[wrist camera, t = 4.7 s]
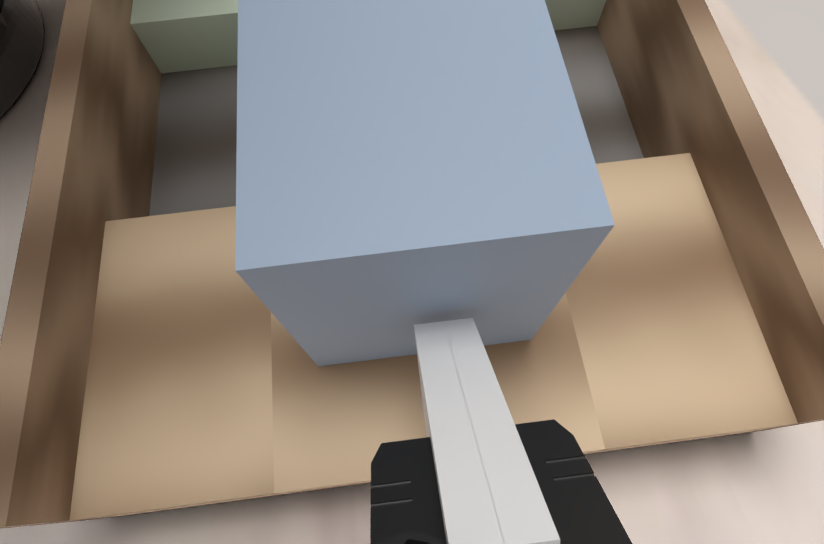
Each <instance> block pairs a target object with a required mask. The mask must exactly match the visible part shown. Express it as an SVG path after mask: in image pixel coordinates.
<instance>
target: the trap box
mask: <svg viewBox="0 0 824 544" xmlns="http://www.w3.org/2000/svg"><path fill="white" fill-rule="evenodd" d="M132 5H133V0H66V3H65V8H64V13H63V19H62V24H61V29H60V34H59V40H58V45H57V50H56V55H55V61H54V66H53V71H52V76H51V82H50V87H49V92H48V97H47V102H46V108H45V113H44V118H43V123H42V129H41V134H40V139H39V144H38V150H37V155H36V160H35V165H34V171H33V176H32V181H31V186H30V192H29V197H28V202H27V207H26V213H25V218H24V223H23V228H22V234H21V239H20V244H19V249H18V255H17V260H16V265H15V270H14V275H13V281H12V286H11V291H10V296H9V302H8V307H7V312H6V317H5V323H4V328H3V333H2V338H1V344H0V528H10V527H20V526H31V525H41V524H51V523H62V522H72V521H82V520H93V519H103V518H113V517H120V516H128V515H135V514H143V513H150V512H158V511H165V510H173V509H180V508H188V507H195V506H203V505H210V504H218V503H225V502H233V501H240V500H248V499H255V498H263V497H270V496H278V495H285V494H293V493H300V492H308V491H315V490H323V489H330V488H338V487H345V486H353V485H360V484H368V483H371V462H372V460H373V458H374V456H375V454H376V452H377V450H378V448H379V446H380V445H381V443H387V442H394V441H402V440H410V439H418V438H425V437H427V433H426V426H425V419H424V412H423V403H422V394H421V385H420V376H419V367H418V358H417V354H414V355H406V356H399V357H391V358H383V359H375V360H367V361H359V362H351V363H343V364H335V365H327V366H319V367H318V366H317V365H316V363H315V362H314V361H313V360H312V359H311V358H310V356H309V355H308V354H307V353H306V352H305V351H304V350H303V348H302V347H301V346H300V345H299V344H298V343H297V341H296V340H295V339H294V338H293V337H292V336H291V335H290V333H289V332H288V331H287V330H286V329H285V328H284V326H283V325H282V324H281V323H280V322H279V321H278V319H277V318H276V317H275V316H274V315H273V314H272V313H271V311H270V310H269V309H268V308H267V307H266V306H265V304H264V303H263V302H262V301H261V300H260V299H259V298H258V296H257V295H256V294H255V293H254V292H253V291H252V289H251V288H250V287H249V286H248V285H247V284H246V283H245V281H244V280H243V279H242V278H241V277H240V276H239V274H238V273H237V272H236V271H235V246H236V151H237V65H233V66H224V67H215V68H206V69H197V70H188V71H178V72H169V73H161V72H160V70H159V69H158V67H157V66H156V64H155V63H154V61H153V59H152V58H151V56H150V55H149V53H148V51H147V50H146V48H145V47H144V45H143V44H142V42H141V40H140V39H139V37H138V36H137V34H136V32H135V31H134V29H133V28H132V26H131V25H130V21H131V13H132ZM554 32H555V35H556V38H557V41H558V44H559V48H560V51H561V54H562V57H563V60H564V64H565V67H566V70H567V73H568V76H569V80H570V83H571V86H572V89H573V92H574V96H575V99H576V102H577V105H578V108H579V112H580V115H581V118H582V121H583V124H584V128H585V131H586V134H587V137H588V140H589V144H590V147H591V150H592V153H593V156H594V160H595V163H596V166H597V169H598V173H599V176H600V179H601V182H602V185H603V189H604V192H605V195H606V198H607V201H608V205H609V208H610V211H611V214H612V217H613V221H614V224H615V225H614V227H613V228H612V230H611V231H610V232H609V234H608V235H607V236H606V238H605V239H604V241H603V242H602V243H601V245H600V246H599V247H598V249H597V250H596V251H595V253H594V254H593V256H592V257H591V258H590V260H589V261H588V262H587V264H586V265H585V267H584V268H583V269H582V271H581V272H580V273H579V275H578V276H577V278H576V279H575V280H574V282H573V283H572V284H571V286H570V287H569V289H568V290H567V291H566V293H565V294H564V295H563V297H562V298H561V300H560V301H559V302H558V304H557V305H556V306H555V308H554V309H553V311H552V312H551V313H550V315H549V316H548V317H547V319H546V320H545V322H544V323H543V324H542V326H541V327H540V328H539V330H538V331H537V333H536V334H535V335H534V337H533V338H532V339H531V340H525V341H517V342H509V343H501V344H493V345H485V346H484V347H485V350H486V353H487V355H488V358H489V360H490V363H491V365H492V368H493V370H494V373H495V375H496V378H497V380H498V383H499V385H500V388H501V391H502V393H503V396H504V398H505V401H506V403H507V406H508V408H509V411H510V413H511V416H512V418H513V421H514V424H521V423H529V422H537V421H545V420H552V419H554V420H556V421H557V422H558V423H559V424H561V425H562V426H563V427H564V428H565V429H567V430H568V431H569V432H570V433H572V434H573V435H574V437H575V439H576V441H577V443H578V444H579V446H580V448H581V450H582V452H583V454H584V455H585V454H592V453H600V452H607V451H615V450H622V449H630V448H637V447H645V446H652V445H660V444H667V443H675V442H682V441H690V440H697V439H705V438H712V437H720V436H727V435H735V434H742V433H750V432H756V431H762V430H768V429H774V428H780V427H786V426H792V425H798V424H804V423H810V422H816V421H822V420H824V249H823V247H822V245H821V242H820V240H819V238H818V236H817V234H816V232H815V230H814V228H813V226H812V224H811V222H810V220H809V217H808V215H807V213H806V211H805V209H804V207H803V205H802V203H801V201H800V199H799V197H798V194H797V192H796V190H795V188H794V186H793V184H792V182H791V180H790V178H789V176H788V174H787V172H786V169H785V167H784V165H783V163H782V161H781V159H780V157H779V155H778V153H777V151H776V149H775V146H774V144H773V142H772V140H771V138H770V136H769V134H768V132H767V130H766V128H765V126H764V124H763V121H762V119H761V117H760V115H759V113H758V111H757V109H756V107H755V105H754V103H753V101H752V98H751V96H750V94H749V92H748V90H747V88H746V86H745V84H744V82H743V80H742V78H741V76H740V73H739V71H738V69H737V67H736V65H735V63H734V61H733V59H732V57H731V55H730V53H729V51H728V48H727V46H726V44H725V42H724V40H723V38H722V36H721V34H720V32H719V30H718V28H717V25H716V23H715V21H714V19H713V17H712V15H711V13H710V11H709V9H708V7H707V5H706V3H705V0H606V3H605V5H604V8H603V11H602V13H601V16H600V19H599V21H598V24H597V26H590V27H581V28H572V29H563V30H554Z"/></svg>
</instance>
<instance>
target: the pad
mask: <svg viewBox="0 0 824 544" xmlns="http://www.w3.org/2000/svg"><path fill="white" fill-rule="evenodd" d="M545 3H546V6H547V9H548V12H549V15H550V19H551V22H552V25H553V28H554V30H563V29H572V28H581V27H590V26H597V24H598V21H599V19H600V16H601V13H602V11H603V8H604V5H605V3H606V0H545ZM130 25H131V26H132V28H133V29H134V31H135V32H136V34H137V36H138V37H139V39H140V40H141V42H142V44H143V45H144V47H145V48H146V50H147V51H148V53H149V55H150V56H151V58H152V59H153V61H154V63H155V64H156V66H157V67H158V69H159V70H160V72H161V73H169V72H178V71H188V70H197V69H206V68H215V67H224V66H233V65H237V56H238V0H133V5H132V13H131V21H130Z"/></svg>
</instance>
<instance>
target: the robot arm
mask: <svg viewBox="0 0 824 544" xmlns="http://www.w3.org/2000/svg"><path fill="white" fill-rule="evenodd" d="M43 39H44V28H43V21H42V16H41V13H40V10H39V8H38V6H37V4H36V2H35V1H34V0H0V117H1V116H2V115H3V114H4V113H5V112H6V111H7V110H8V109H9V108H10V106H11V105H12V104H13V103H14V102H15V101H16V99H17V98H18V97H19V96H20V94H21V93H22V91H23V90H24V88H25V87H26V86H27V84H28V82H29V80H30V79H31V77H32V75H33V73H34V71H35V69H36V66H37V64H38V61H39V58H40V55H41V51H42V46H43ZM414 331H415V340H416V349H417V358H418V367H419V376H420V385H421V394H422V403H423V412H424V419H425V426H426V433H427V437H425V438H418V439H410V440H402V441H394V442H387V443H381V445H380V446H379V448H378V450H377V452H376V454H375V456H374V458H373V460H372V462H371V544H632V542H631V541H630V539H629V537H628V535H627V533H626V531H625V529H624V528H623V526H622V524H621V522H620V520H619V518H618V517H617V515H616V513H615V511H614V509H613V507H612V505H611V504H610V502H609V500H608V498H607V496H606V494H605V492H604V491H603V489H602V487H601V485H600V483H599V481H598V480H597V478H596V476H594V473H593V470H592V468H591V467H590V465H589V463H588V461H587V459H585V457H584V454H583V452H582V450H581V448H580V446H579V444H578V443H577V441H576V439H575V437H574V435H573V434H572V433H570V432H569V431H568V430H567V429H565V428H564V427H563V426H562V425H561V424H559V423H558V422H557V421H556V420H554V419H552V420H545V421H537V422H529V423H521V424H514V421H513V418H512V416H511V413H510V411H509V408H508V406H507V403H506V401H505V398H504V396H503V393H502V391H501V388H500V385H499V383H498V380H497V378H496V375H495V373H494V370H493V368H492V365H491V363H490V360H489V358H488V355H487V353H486V350H485V347H484V345H483V342H482V340H481V337H480V335H479V332H478V330H477V327H476V325H475V322H474V320H473V318H465V319H457V320H449V321H441V322H433V323H425V324H416V325H414Z"/></svg>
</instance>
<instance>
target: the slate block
mask: <svg viewBox="0 0 824 544" xmlns="http://www.w3.org/2000/svg"><path fill="white" fill-rule="evenodd" d="M614 225H615V224H614V221H613V217H612V214H611V211H610V208H609V205H608V201H607V198H606V195H605V192H604V189H603V185H602V182H601V179H600V176H599V173H598V169H597V166H596V163H595V160H594V156H593V153H592V150H591V147H590V144H589V140H588V137H587V134H586V131H585V128H584V124H583V121H582V118H581V115H580V112H579V108H578V105H577V102H576V99H575V96H574V92H573V89H572V86H571V83H570V80H569V76H568V73H567V70H566V67H565V64H564V60H563V57H562V54H561V51H560V48H559V44H558V41H557V38H556V35H555V32H554V28H553V25H552V22H551V19H550V15H549V12H548V9H547V6H546V3H545V0H238V56H237V151H236V246H235V271H236V272H237V273H238V274H239V276H240V277H241V278H242V279H243V280H244V281H245V283H246V284H247V285H248V286H249V287H250V288H251V289H252V291H253V292H254V293H255V294H256V295H257V296H258V298H259V299H260V300H261V301H262V302H263V303H264V304H265V306H266V307H267V308H268V309H269V310H270V311H271V313H272V314H273V315H274V316H275V317H276V318H277V319H278V321H279V322H280V323H281V324H282V325H283V326H284V328H285V329H286V330H287V331H288V332H289V333H290V335H291V336H292V337H293V338H294V339H295V340H296V341H297V343H298V344H299V345H300V346H301V347H302V348H303V350H304V351H305V352H306V353H307V354H308V355H309V356H310V358H311V359H312V360H313V361H314V362H315V363H316V365H317V366H318V367H319V366H327V365H335V364H343V363H351V362H359V361H367V360H375V359H383V358H391V357H399V356H406V355H414V354H417V349H416V340H415V331H414V325H416V324H425V323H433V322H441V321H449V320H457V319H465V318H473V320H474V322H475V325H476V327H477V330H478V332H479V335H480V337H481V340H482V342H483V345H484V346H485V345H493V344H501V343H509V342H517V341H525V340H531V339H532V338H533V337H534V335H535V334H536V333H537V331H538V330H539V328H540V327H541V326H542V324H543V323H544V322H545V320H546V319H547V317H548V316H549V315H550V313H551V312H552V311H553V309H554V308H555V306H556V305H557V304H558V302H559V301H560V300H561V298H562V297H563V295H564V294H565V293H566V291H567V290H568V289H569V287H570V286H571V284H572V283H573V282H574V280H575V279H576V278H577V276H578V275H579V273H580V272H581V271H582V269H583V268H584V267H585V265H586V264H587V262H588V261H589V260H590V258H591V257H592V256H593V254H594V253H595V251H596V250H597V249H598V247H599V246H600V245H601V243H602V242H603V241H604V239H605V238H606V236H607V235H608V234H609V232H610V231H611V230H612V228H613V227H614Z"/></svg>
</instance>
